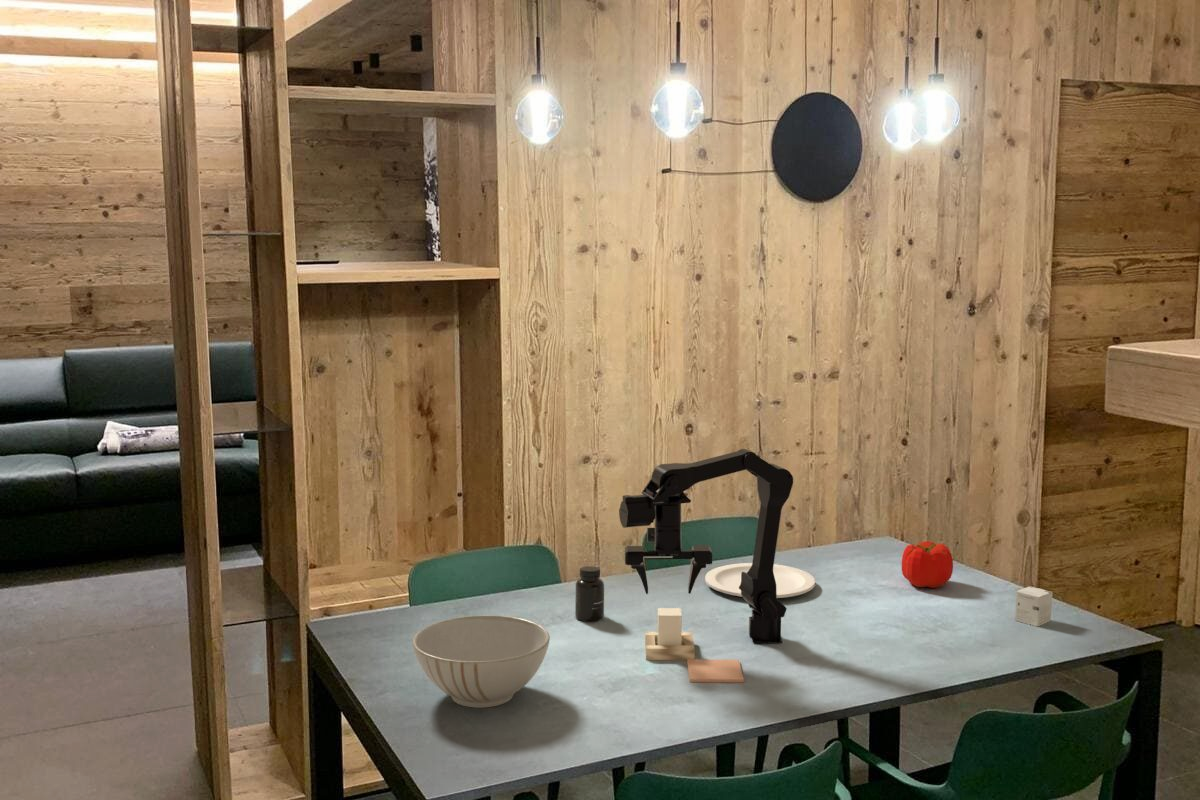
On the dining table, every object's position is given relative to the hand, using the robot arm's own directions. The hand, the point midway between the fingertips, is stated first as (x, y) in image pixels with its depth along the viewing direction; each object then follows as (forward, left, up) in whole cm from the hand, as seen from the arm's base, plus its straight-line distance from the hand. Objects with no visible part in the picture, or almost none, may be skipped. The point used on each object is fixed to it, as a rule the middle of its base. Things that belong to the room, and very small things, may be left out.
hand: (668, 593), depth 260 cm
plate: (-25, -46, -13) cm, 54 cm away
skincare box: (-86, -20, -13) cm, 90 cm away
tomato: (-68, -48, -13) cm, 85 cm away
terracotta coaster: (-9, +13, -13) cm, 20 cm away
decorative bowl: (+38, +26, -13) cm, 47 cm away
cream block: (0, +1, -13) cm, 13 cm away
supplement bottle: (+18, -21, -13) cm, 31 cm away
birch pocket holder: (0, +1, -13) cm, 13 cm away
